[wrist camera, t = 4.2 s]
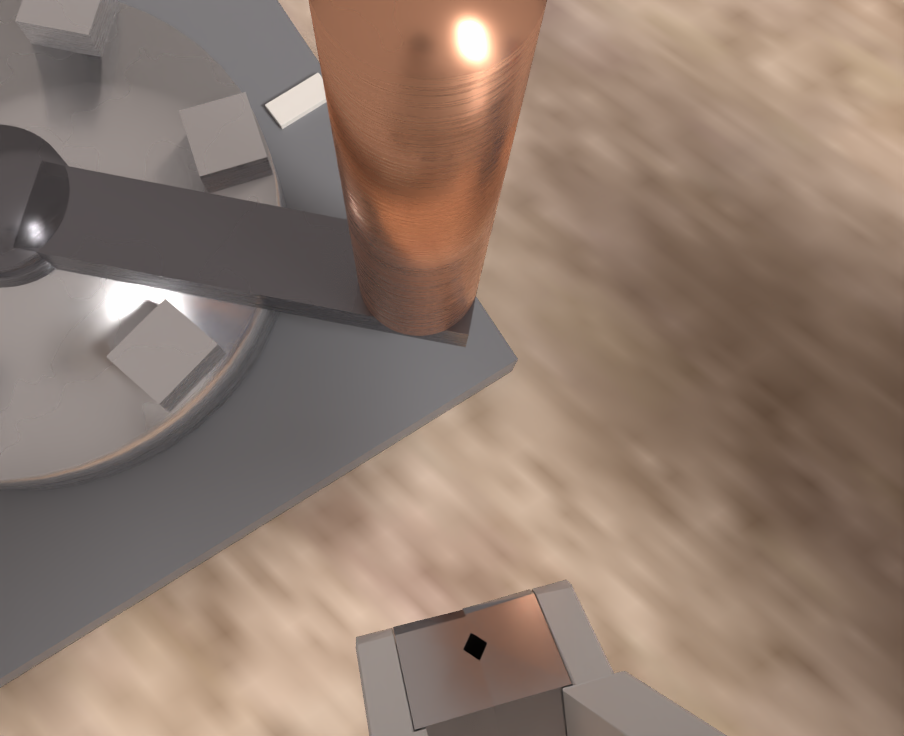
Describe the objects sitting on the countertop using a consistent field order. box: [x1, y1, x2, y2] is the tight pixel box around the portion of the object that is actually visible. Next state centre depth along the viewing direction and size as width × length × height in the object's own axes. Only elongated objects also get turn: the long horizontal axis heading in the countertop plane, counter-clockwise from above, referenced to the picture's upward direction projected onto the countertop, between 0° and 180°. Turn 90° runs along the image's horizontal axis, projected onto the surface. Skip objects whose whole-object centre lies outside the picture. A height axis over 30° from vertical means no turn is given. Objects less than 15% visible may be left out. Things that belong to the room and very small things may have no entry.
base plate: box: [0, 0, 518, 688], centre depth 25 cm, size 20×20×2 cm
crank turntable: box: [0, 0, 547, 490], centre depth 17 cm, size 20×14×15 cm
